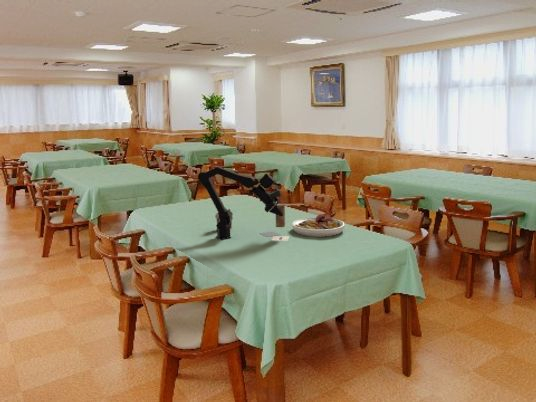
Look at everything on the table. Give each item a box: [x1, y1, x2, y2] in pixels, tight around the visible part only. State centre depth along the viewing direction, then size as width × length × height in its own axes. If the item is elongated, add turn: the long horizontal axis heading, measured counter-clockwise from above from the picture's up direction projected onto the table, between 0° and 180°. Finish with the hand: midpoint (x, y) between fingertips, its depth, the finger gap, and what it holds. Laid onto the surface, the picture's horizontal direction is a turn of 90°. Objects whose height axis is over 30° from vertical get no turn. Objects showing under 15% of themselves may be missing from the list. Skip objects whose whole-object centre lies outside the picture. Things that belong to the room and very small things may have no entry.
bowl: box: [291, 213, 345, 238], centre depth 284 cm, size 30×30×8 cm
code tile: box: [271, 235, 290, 242], centre depth 269 cm, size 9×9×1 cm
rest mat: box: [259, 231, 282, 238], centre depth 278 cm, size 9×9×1 cm
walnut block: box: [275, 203, 286, 228], centre depth 267 cm, size 5×5×12 cm
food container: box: [214, 211, 234, 230], centre depth 292 cm, size 12×6×10 cm, turn 141°
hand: (282, 214), depth 266 cm, fingers closed on walnut block, 5 cm apart
